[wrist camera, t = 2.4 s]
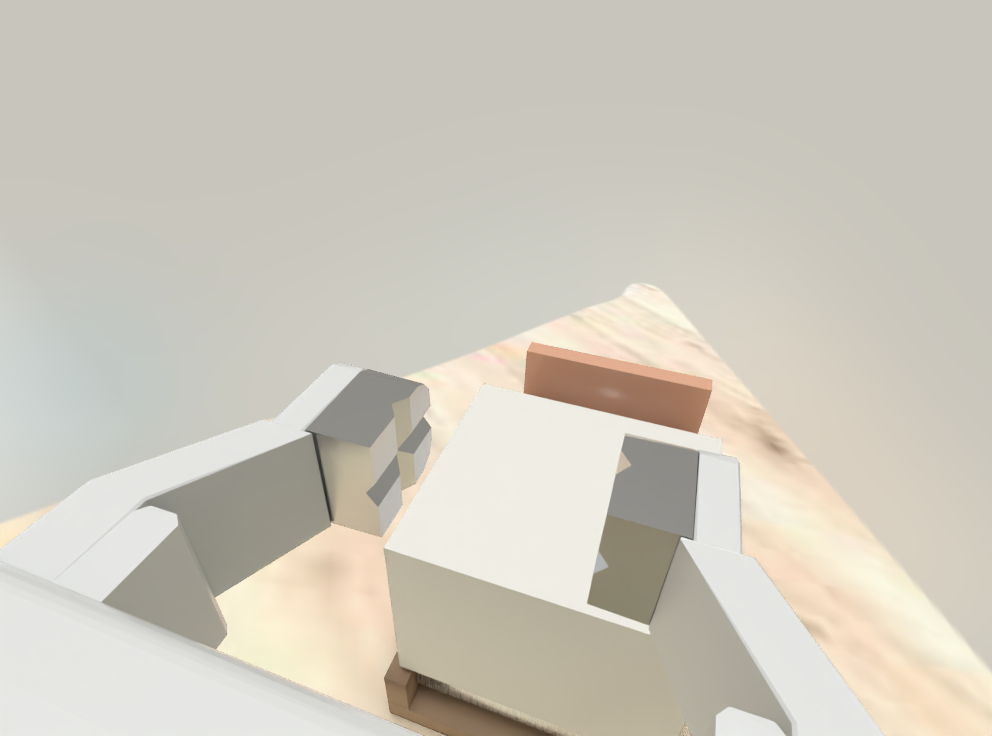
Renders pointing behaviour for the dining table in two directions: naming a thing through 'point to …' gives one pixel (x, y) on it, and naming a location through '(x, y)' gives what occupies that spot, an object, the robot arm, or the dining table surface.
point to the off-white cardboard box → (528, 569)
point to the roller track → (586, 383)
